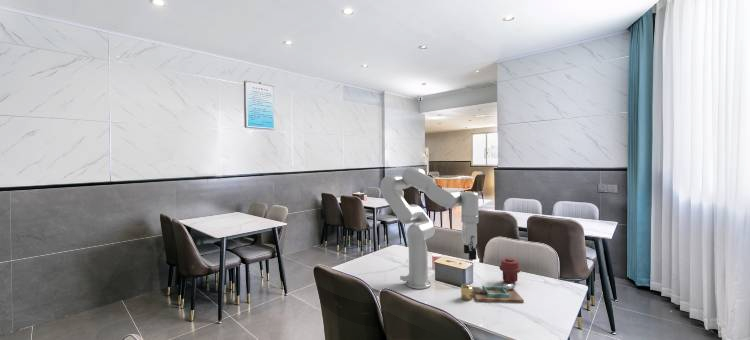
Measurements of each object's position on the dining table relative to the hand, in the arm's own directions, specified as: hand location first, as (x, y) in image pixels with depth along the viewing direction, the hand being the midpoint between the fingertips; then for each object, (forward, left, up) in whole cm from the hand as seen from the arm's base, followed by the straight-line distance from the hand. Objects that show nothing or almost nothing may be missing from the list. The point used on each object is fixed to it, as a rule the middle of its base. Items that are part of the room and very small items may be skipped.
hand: (469, 256), depth 147 cm
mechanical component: (+24, +20, -19) cm, 37 cm away
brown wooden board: (+12, +3, -19) cm, 23 cm away
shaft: (+19, +7, -19) cm, 28 cm away
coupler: (-2, -1, -19) cm, 19 cm away
